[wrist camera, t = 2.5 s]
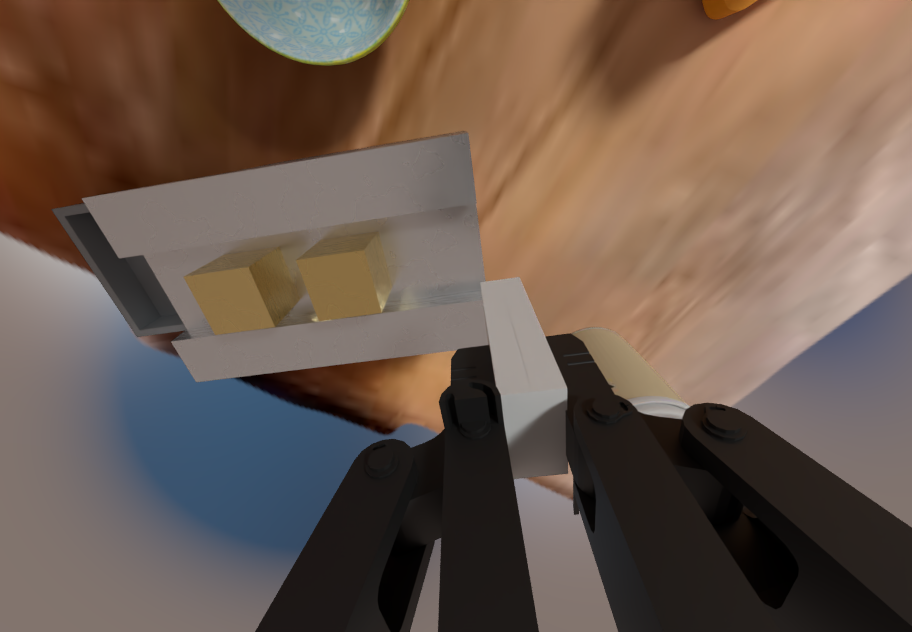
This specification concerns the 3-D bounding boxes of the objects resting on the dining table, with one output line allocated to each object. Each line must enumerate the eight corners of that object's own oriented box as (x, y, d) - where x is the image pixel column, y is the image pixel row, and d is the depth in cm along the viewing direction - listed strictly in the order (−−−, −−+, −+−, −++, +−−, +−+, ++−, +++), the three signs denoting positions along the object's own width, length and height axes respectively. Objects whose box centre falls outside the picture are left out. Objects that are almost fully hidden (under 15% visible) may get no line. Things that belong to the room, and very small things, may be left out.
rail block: (208, 174, 27) (81, 198, 18) (464, 130, 26) (468, 132, 17) (269, 310, 33) (196, 382, 24) (483, 281, 31) (493, 345, 22)
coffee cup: (550, 316, 33) (594, 405, 23) (649, 321, 33) (738, 411, 23) (534, 393, 38) (564, 498, 27) (621, 398, 38) (685, 503, 27)
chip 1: (223, 254, 21) (182, 276, 18) (279, 246, 21) (248, 267, 18) (248, 306, 23) (215, 335, 20) (300, 299, 22) (275, 326, 19)
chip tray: (89, 201, 28) (51, 209, 26) (229, 178, 28) (205, 183, 25) (162, 320, 34) (136, 337, 31) (283, 303, 33) (267, 319, 30)
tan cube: (319, 240, 21) (295, 260, 18) (378, 231, 20) (364, 249, 17) (338, 294, 22) (318, 321, 19) (392, 286, 22) (381, 313, 19)
